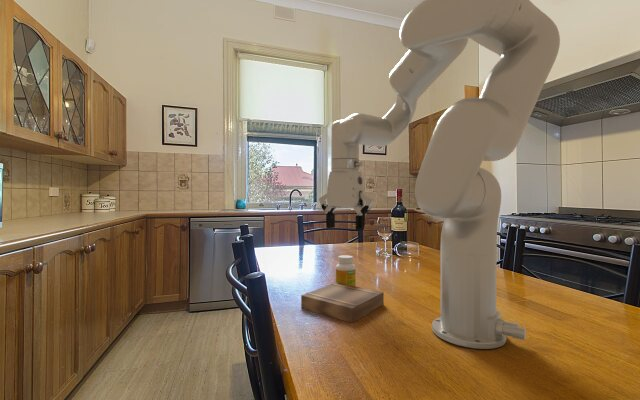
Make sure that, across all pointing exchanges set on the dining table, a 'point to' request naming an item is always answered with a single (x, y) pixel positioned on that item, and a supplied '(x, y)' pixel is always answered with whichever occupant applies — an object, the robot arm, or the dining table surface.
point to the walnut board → (342, 301)
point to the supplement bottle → (346, 270)
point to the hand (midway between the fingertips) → (344, 229)
